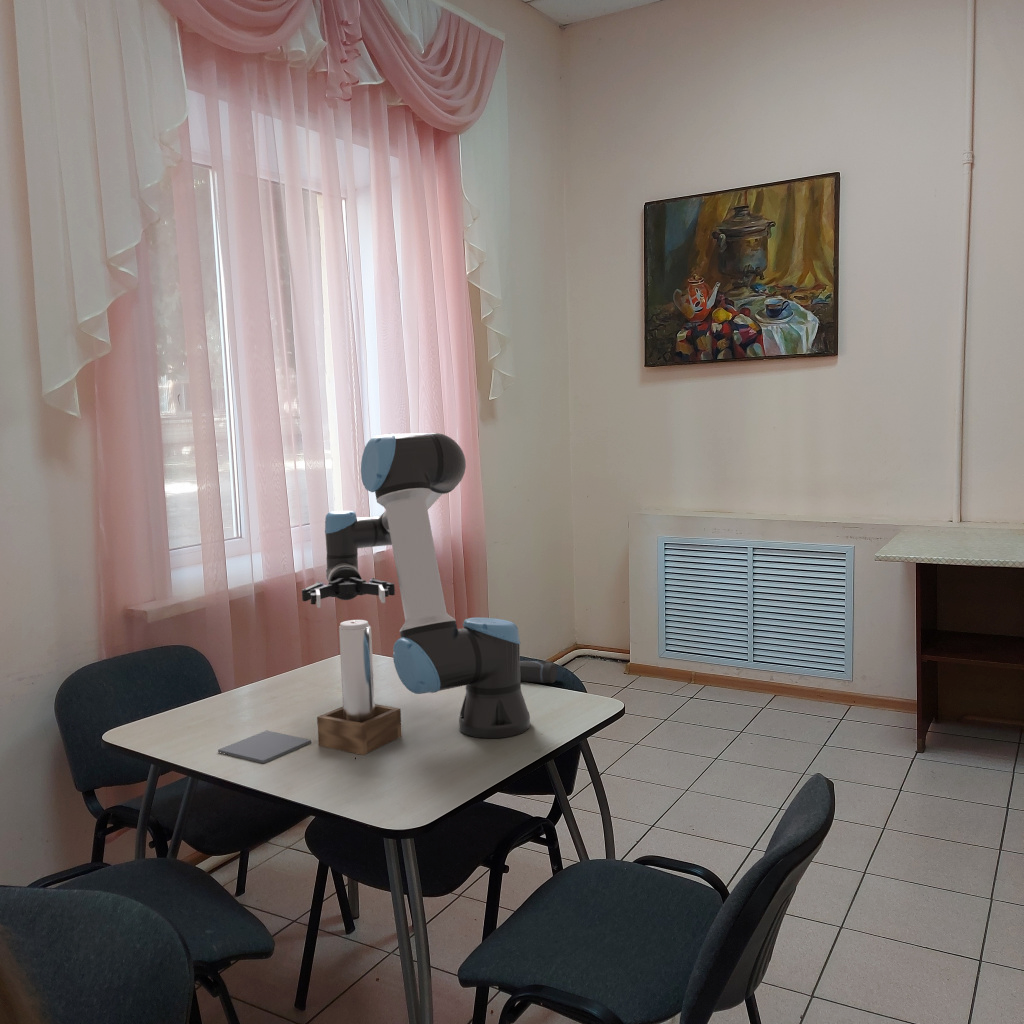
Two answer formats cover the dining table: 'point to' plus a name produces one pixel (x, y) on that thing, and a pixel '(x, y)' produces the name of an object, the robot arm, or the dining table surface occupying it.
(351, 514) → the robot arm
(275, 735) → the mat
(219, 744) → the dining table surface
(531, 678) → the power drill
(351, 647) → the shiny metal cylinder
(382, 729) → the square wooden frame
